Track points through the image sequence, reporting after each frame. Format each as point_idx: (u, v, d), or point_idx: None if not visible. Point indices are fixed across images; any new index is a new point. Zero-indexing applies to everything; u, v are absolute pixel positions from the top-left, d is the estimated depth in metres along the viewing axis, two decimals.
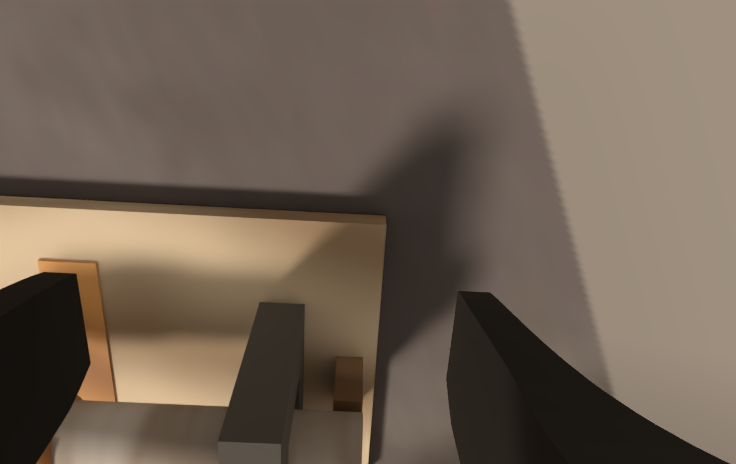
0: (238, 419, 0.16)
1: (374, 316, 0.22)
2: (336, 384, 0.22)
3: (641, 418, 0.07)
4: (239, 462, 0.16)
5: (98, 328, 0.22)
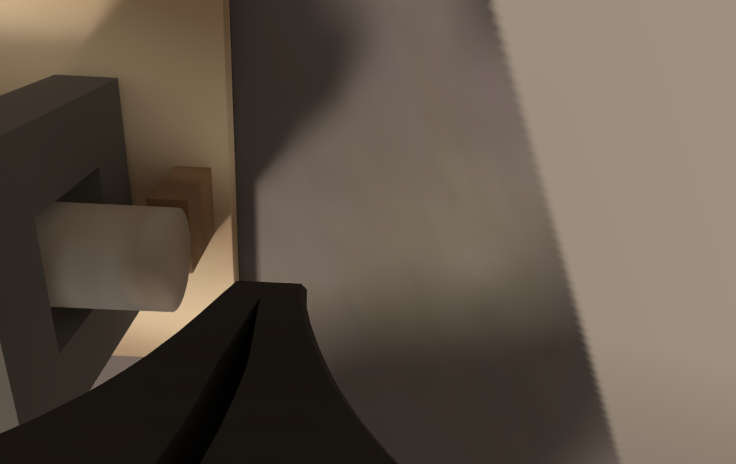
0: None
1: (220, 102, 0.16)
2: (159, 186, 0.16)
3: (343, 406, 0.07)
4: None
5: None
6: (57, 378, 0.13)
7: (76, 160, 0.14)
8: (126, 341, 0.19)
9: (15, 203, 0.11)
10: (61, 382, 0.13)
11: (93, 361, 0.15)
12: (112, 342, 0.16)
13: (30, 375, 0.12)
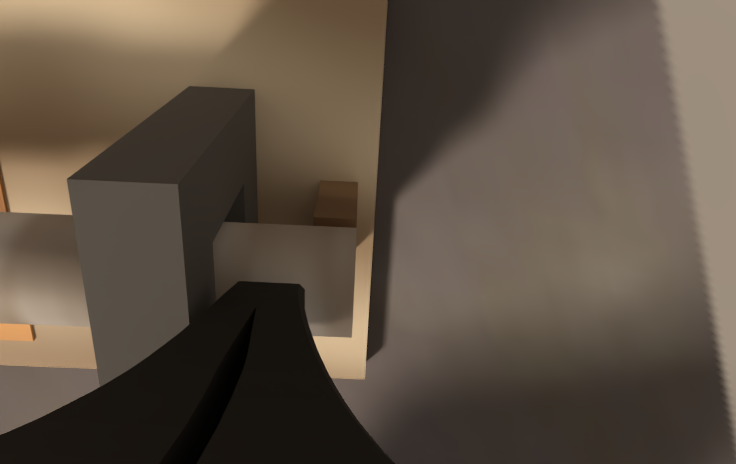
0: (113, 161, 0.10)
1: (374, 115, 0.16)
2: (319, 203, 0.15)
3: (340, 406, 0.07)
4: (109, 224, 0.09)
5: None
6: None
7: (233, 178, 0.13)
8: None
9: (204, 228, 0.11)
10: None
11: None
12: None
13: None
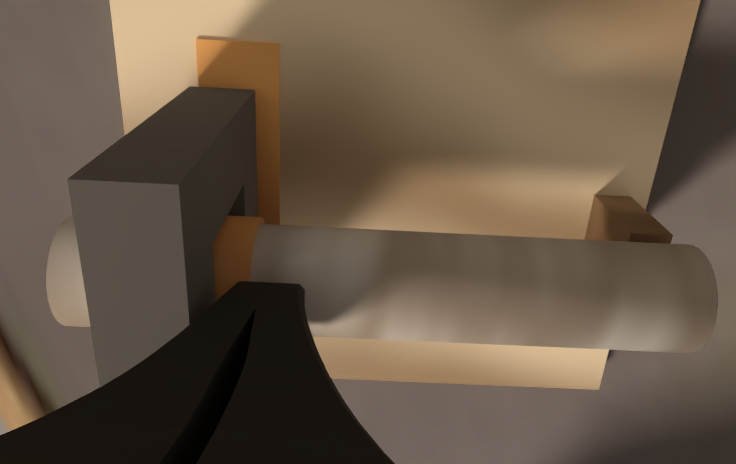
0: (114, 162, 0.10)
1: (659, 130, 0.16)
2: (620, 218, 0.15)
3: (340, 406, 0.07)
4: (110, 224, 0.09)
5: (270, 149, 0.16)
6: None
7: (233, 178, 0.13)
8: (492, 370, 0.19)
9: (204, 228, 0.11)
10: None
11: None
12: None
13: None
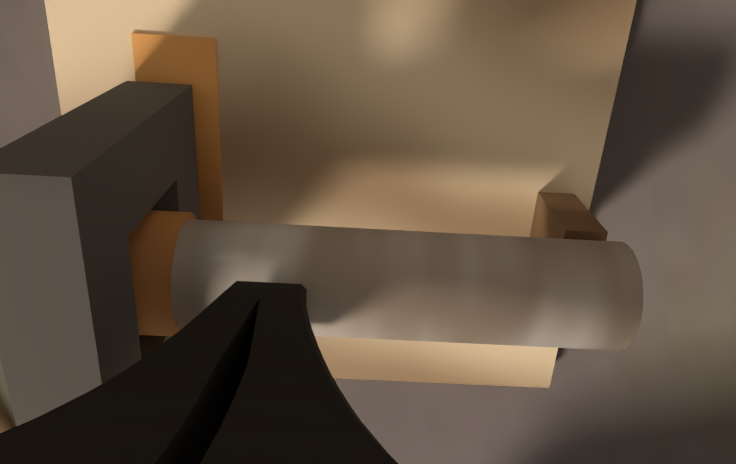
0: (13, 154, 0.10)
1: (601, 128, 0.16)
2: (558, 216, 0.15)
3: (343, 406, 0.07)
4: (5, 217, 0.09)
5: (210, 145, 0.16)
6: None
7: (160, 173, 0.13)
8: (441, 368, 0.19)
9: (113, 222, 0.11)
10: None
11: None
12: None
13: None
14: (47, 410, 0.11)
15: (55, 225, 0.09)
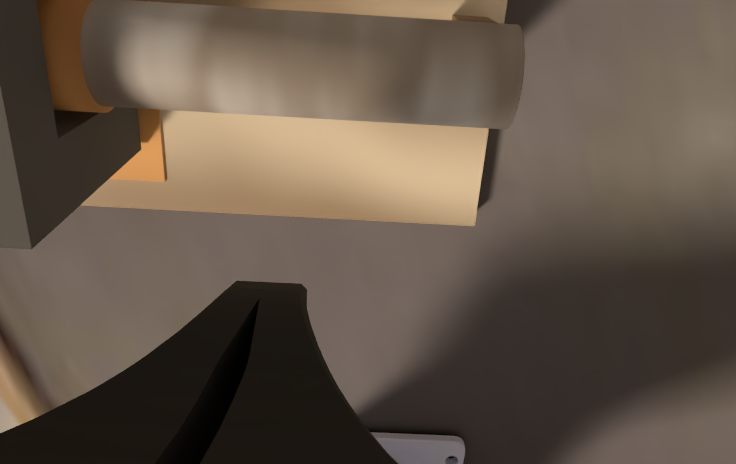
0: None
1: None
2: (463, 21, 0.16)
3: (343, 406, 0.07)
4: None
5: None
6: (56, 162, 0.13)
7: None
8: (370, 204, 0.20)
9: None
10: (60, 168, 0.14)
11: (92, 170, 0.15)
12: (111, 165, 0.16)
13: (29, 140, 0.12)
14: None
15: None
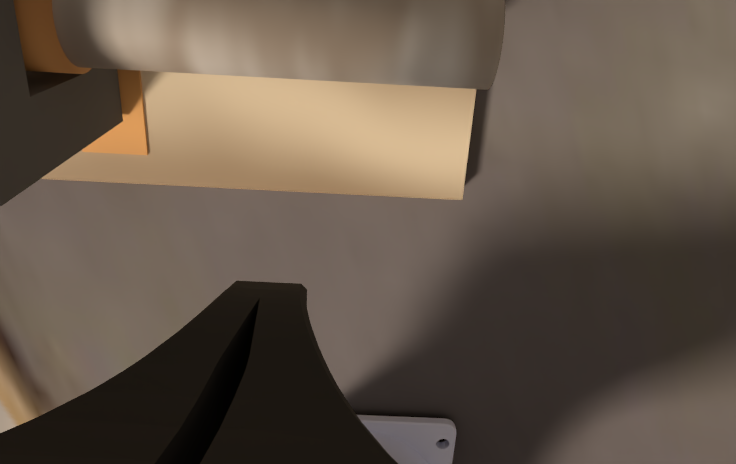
0: None
1: None
2: None
3: (343, 406, 0.07)
4: None
5: None
6: (28, 120, 0.13)
7: None
8: (356, 178, 0.20)
9: None
10: (33, 128, 0.13)
11: (68, 135, 0.15)
12: (89, 132, 0.16)
13: None
14: None
15: None
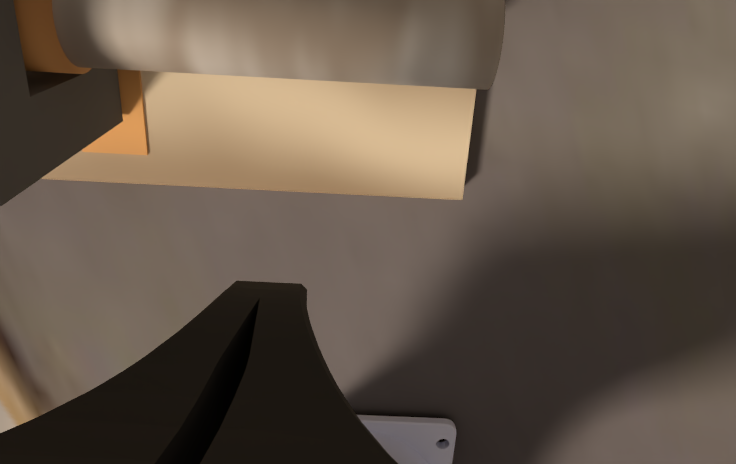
0: None
1: None
2: None
3: (343, 406, 0.07)
4: None
5: None
6: (28, 120, 0.13)
7: None
8: (356, 178, 0.20)
9: None
10: (33, 128, 0.13)
11: (68, 135, 0.15)
12: (89, 132, 0.16)
13: None
14: None
15: None
